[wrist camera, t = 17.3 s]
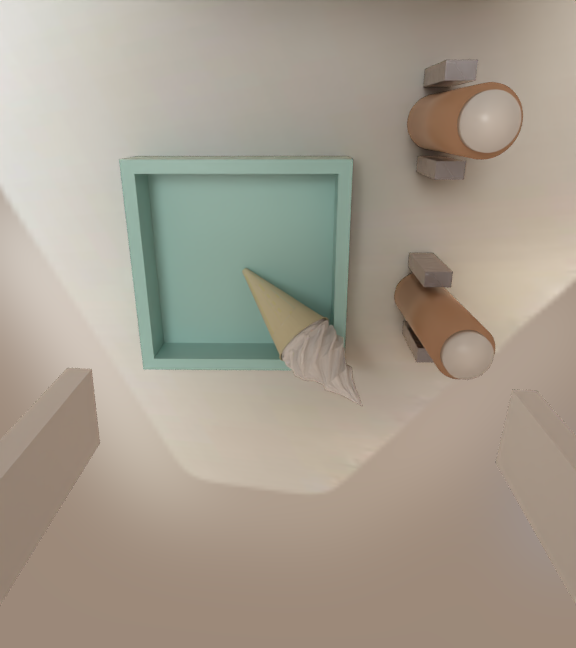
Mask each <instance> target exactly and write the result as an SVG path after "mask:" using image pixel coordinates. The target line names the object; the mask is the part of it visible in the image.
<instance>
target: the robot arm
mask: <svg viewBox="0 0 576 648" xmlns="http://www.w3.org/2000/svg"><path fill="white" fill-rule="evenodd" d="M99 444H100V439H99V430H98V422H97V412H96V403H95V394H94V386H93V377H92V369H80V368H67V369H66V370H65V371H64V372H63V373H62V374H61V375H60V376H59V377H58V378H57V379H56V381H55V382H54V383H53V384H52V385H51V386H50V387H49V388H48V389H47V390H46V391H45V392H44V393H43V394H42V395H41V397H40V398H39V399H38V400H37V401H36V402H35V403H34V404H33V405H32V406H31V407H30V408H29V409H28V411H27V412H26V413H25V414H24V415H23V416H22V417H21V418H20V419H19V420H18V421H17V422H16V423H15V425H14V426H13V427H12V428H11V429H10V430H9V431H8V432H7V433H6V434H5V435H4V436H3V437H2V439H1V440H0V605H1V603H2V602H3V600H4V599H5V597H6V595H7V594H8V592H9V591H10V589H11V587H12V586H13V584H14V582H15V581H16V579H17V577H18V576H19V574H20V573H21V571H22V569H23V568H24V566H25V565H26V563H27V561H28V560H29V558H30V556H31V555H32V553H33V552H34V550H35V548H36V546H37V545H38V543H39V542H40V540H41V538H42V537H43V535H44V534H45V532H46V530H47V529H48V527H49V525H50V524H51V522H52V521H53V519H54V517H55V516H56V514H57V512H58V511H59V509H60V508H61V506H62V504H63V503H64V501H65V499H66V498H67V496H68V494H69V493H70V491H71V490H72V488H73V486H74V485H75V483H76V481H77V480H78V478H79V477H80V475H81V473H82V472H83V470H84V468H85V467H86V465H87V464H88V462H89V460H90V459H91V457H92V455H93V454H94V452H95V450H96V449H97V447H98V446H99ZM495 463H496V465H497V467H498V468H499V470H500V472H501V474H502V475H503V477H504V479H505V481H506V482H507V484H508V486H509V488H510V490H511V491H512V493H513V495H514V497H515V498H516V500H517V502H518V504H519V505H520V507H521V509H522V511H523V512H524V514H525V516H526V518H527V520H528V521H529V523H530V525H531V527H532V528H533V530H534V532H535V534H536V536H537V537H538V539H539V541H540V543H541V544H542V546H543V548H544V549H545V551H546V553H547V555H548V557H549V559H550V560H551V562H552V564H553V566H554V567H555V569H556V571H557V573H558V574H559V576H560V578H561V580H562V582H563V583H564V585H565V587H566V589H567V590H568V592H569V594H570V596H571V597H572V599H573V601H574V603H575V604H576V435H575V434H574V433H573V431H572V430H571V429H570V428H569V427H568V426H567V425H566V423H565V422H564V421H563V420H562V419H561V418H560V416H558V414H557V413H556V412H555V411H554V410H553V409H552V407H551V406H550V405H549V404H548V403H547V401H546V400H545V399H544V398H543V397H542V396H541V395H540V393H539V392H538V391H536V390H515V389H514V390H512V393H511V398H510V402H509V406H508V410H507V415H506V419H505V423H504V427H503V432H502V436H501V440H500V444H499V449H498V453H497V457H496V461H495Z"/></svg>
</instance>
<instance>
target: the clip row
mask: <svg viewBox="0 0 576 648" xmlns="http://www.w3.org/2000/svg"><path fill="white" fill-rule="evenodd" d="M477 63H478V60H445V61H443V62H440V63H438V64H436V65H433V66H431V67H429V68H426V69H425V74H424V86H423V87H451V86H455V85H459V84H463V83H467V82H471V81H475V80H476V72H477ZM465 164H466V161H463V160H458V159H454V158H449V157H445V156H417V167H416V172H418V173H420V174H423V175H425V176H428V177H430V178H432V179H464V173H465ZM408 267H409V268H410V270H411V271H412V272H413V274H414V275H415V276H416V277H417V279H418V280H419V281H420V283H421V284H422V285H423V287H451V282H452V273H453V272H452V271H451V270H450V269H449V268H448V267H447V266H446V265H445V264H444V263H443V262H442V261H441V260H440V259H439V258H438V257H437V256H436V255H435V254H434V253H409V261H408ZM402 334H403V336H404V338H405V340H406V342H407V344H408V346H409V348H410V350H411V352H412V354H413V356H414V358H415V360H416V362H434V361H433V360H432V358H431V357H430V355H429V354H428V352H427V351H426V349H425V348H424V346H423V345H422V343H421V342H420V340H419V339H418V337H417V336H416V334H415V333H414V331H413V330H412V328H411V327H410V325H409V324H408V322H407V321H403V331H402Z"/></svg>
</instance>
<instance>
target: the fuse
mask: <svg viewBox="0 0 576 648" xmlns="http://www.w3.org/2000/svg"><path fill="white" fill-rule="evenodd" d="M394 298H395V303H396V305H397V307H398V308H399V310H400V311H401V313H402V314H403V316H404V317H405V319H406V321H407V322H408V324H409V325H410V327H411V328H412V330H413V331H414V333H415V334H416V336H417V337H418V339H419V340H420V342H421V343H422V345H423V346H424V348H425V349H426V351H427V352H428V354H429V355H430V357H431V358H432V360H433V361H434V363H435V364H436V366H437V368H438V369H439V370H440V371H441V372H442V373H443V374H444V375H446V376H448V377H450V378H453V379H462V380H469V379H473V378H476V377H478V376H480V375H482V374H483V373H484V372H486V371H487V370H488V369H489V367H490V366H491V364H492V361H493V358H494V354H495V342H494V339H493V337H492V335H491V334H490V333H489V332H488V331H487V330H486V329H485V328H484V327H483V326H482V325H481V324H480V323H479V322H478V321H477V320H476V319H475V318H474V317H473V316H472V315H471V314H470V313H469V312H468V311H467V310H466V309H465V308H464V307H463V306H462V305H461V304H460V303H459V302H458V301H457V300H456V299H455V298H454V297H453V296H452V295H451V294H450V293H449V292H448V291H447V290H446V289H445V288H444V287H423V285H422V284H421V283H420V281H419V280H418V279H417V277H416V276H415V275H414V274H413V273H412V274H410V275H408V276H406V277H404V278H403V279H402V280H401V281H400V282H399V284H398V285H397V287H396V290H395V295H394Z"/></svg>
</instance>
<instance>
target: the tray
mask: <svg viewBox="0 0 576 648" xmlns="http://www.w3.org/2000/svg"><path fill="white" fill-rule="evenodd" d="M119 163H120V171H121V180H122V189H123V197H124V206H125V214H126V223H127V232H128V240H129V249H130V257H131V266H132V275H133V283H134V292H135V300H136V309H137V317H138V326H139V335H140V343H141V352H142V360H143V369H164V370H292V369H290V368H289V367H287V366H286V365H285V362H284V361H282V360H280V358H279V356H280V355H279V353H278V350H277V348H276V346H275V344H274V341H273V339H272V337H271V335H270V333H269V331H268V328H267V326H266V324H265V322H264V319H263V317H262V315H261V313H260V311H259V308H258V306H257V304H256V302H255V299H254V297H253V295H252V293H251V290H250V288H249V286H248V284H247V281H246V279H245V277H244V275H243V272H242V270H243V269H244V268H247V269H249V270H250V271H252V272H254V273H255V274H257V275H258V276H260V277H261V278H263V279H265V280H266V281H268V282H269V283H271V284H273V285H274V286H276V287H277V288H279V289H280V290H282V291H284V292H285V293H287V294H288V295H290V296H291V297H293V298H295V299H296V300H297V301H299V302H301V303H302V304H304V305H305V306H307V307H308V308H310V309H312V310H313V311H315V312H316V313H318V314H319V315H321V316H323V317H327V318H328V320H329V321H328V323H329V325H333V327H334V329H335V330H336V334H337V335H339V336H341V337H343V343H344V344H343V348H345V336H346V312H347V289H348V265H349V241H350V218H351V194H352V170H353V159H352V158H350V157H349V156H135V157H130V158H125V159H120V160H119Z"/></svg>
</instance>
